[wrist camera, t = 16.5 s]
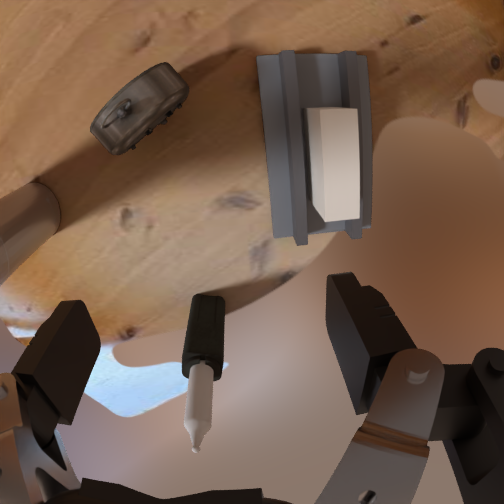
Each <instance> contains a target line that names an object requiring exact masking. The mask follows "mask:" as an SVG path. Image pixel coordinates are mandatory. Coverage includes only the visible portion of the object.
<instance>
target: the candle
mask: <svg viewBox="0 0 504 504" xmlns="http://www.w3.org/2000/svg"><path fill="white" fill-rule="evenodd" d="M224 322H225V300H224V299H223V298H222V297H220V296H217V297H213V296H204V295H201V294H196V295H194V296H193V298H192V303H191V309H190V314H189V320H188V325H187V331H186V337H185V343H184V350H183V355H182V374H183V376H184V377H186V378H188V379H189V382H188V391H187V400H186V408H185V417H184V426H185V428H186V429H187V431H188V432H189V434H190V437H191V441H192V444H193V447H192V451H193V452H195V453H197V452H199V451H200V447H199V446H200V444H201V442H202V439H203V437H204V435H205V434H206V433H207V432H208V431H209V430H210V428H211V419H212V395H213V381H217V380H219V379H220V378H221V375H222V369H223V361H224V360H223V359H224Z"/></svg>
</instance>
